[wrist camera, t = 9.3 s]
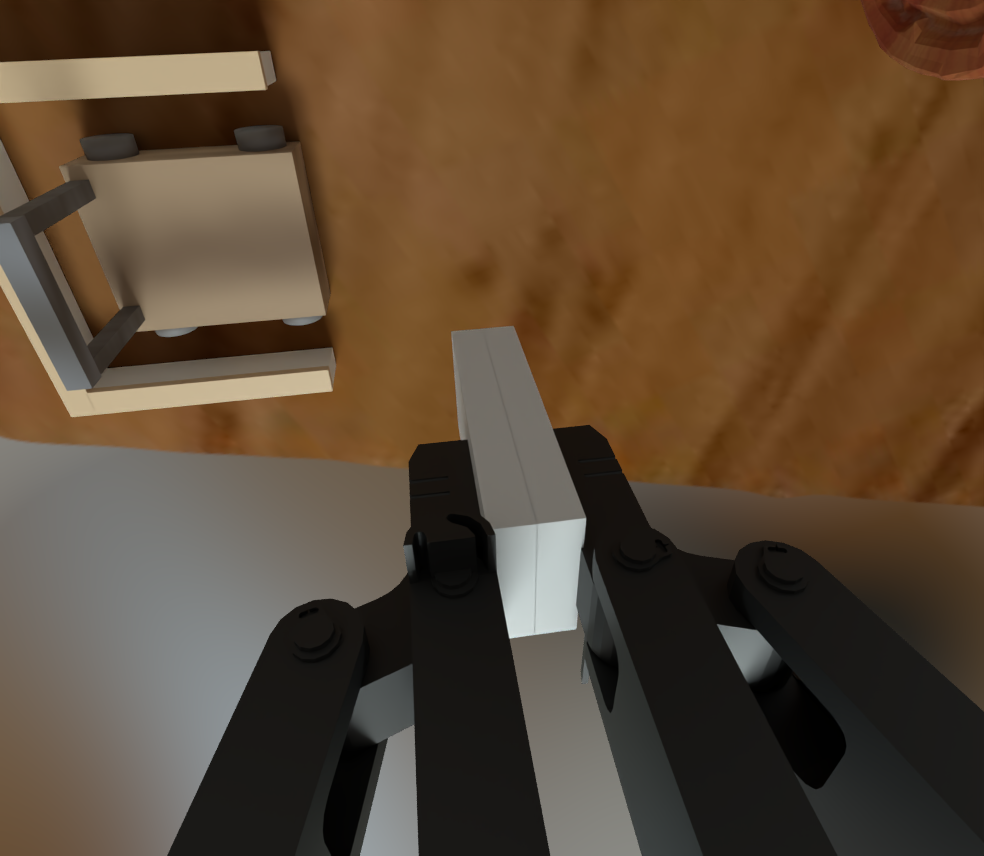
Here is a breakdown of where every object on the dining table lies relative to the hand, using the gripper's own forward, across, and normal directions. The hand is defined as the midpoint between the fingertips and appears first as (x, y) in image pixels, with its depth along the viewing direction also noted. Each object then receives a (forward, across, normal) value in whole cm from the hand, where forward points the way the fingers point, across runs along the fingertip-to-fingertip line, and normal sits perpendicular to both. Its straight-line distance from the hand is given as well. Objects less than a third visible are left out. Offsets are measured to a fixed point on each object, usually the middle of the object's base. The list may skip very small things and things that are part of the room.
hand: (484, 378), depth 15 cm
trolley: (+21, -12, -2) cm, 24 cm away
